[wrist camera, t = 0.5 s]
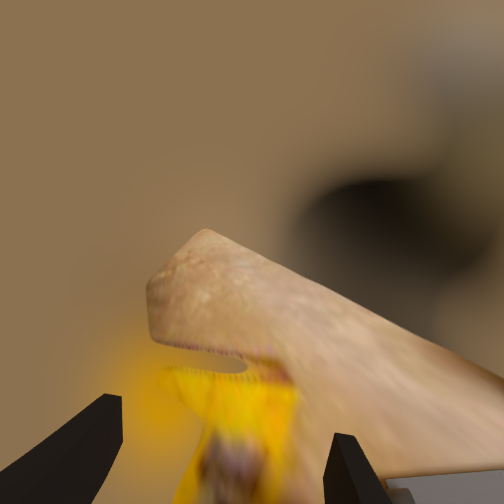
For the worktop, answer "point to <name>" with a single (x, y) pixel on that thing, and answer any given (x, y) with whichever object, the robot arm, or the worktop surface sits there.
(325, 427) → the worktop surface
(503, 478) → the chassis
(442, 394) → the worktop surface
